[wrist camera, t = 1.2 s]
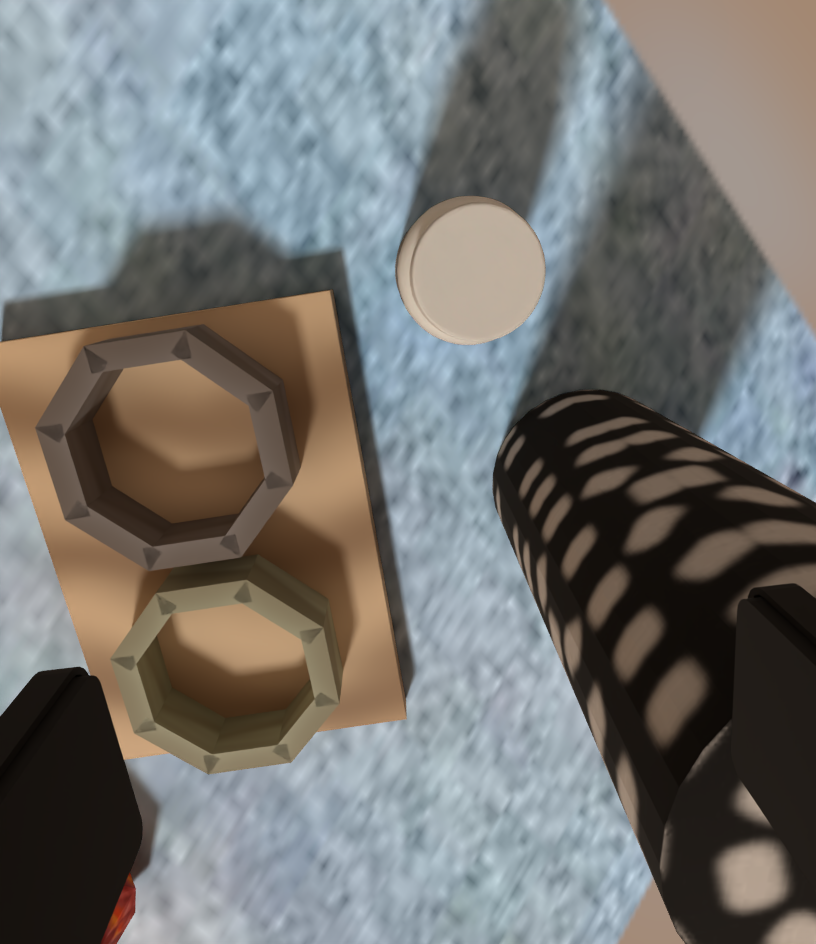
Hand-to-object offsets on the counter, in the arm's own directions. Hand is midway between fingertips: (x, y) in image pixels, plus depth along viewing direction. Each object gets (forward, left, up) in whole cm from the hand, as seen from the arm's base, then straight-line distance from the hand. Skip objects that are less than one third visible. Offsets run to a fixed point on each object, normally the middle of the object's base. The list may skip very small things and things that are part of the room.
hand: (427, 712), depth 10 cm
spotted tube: (+4, +8, -21) cm, 23 cm away
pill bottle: (-6, +3, -21) cm, 22 cm away
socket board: (+4, -9, -21) cm, 23 cm away
